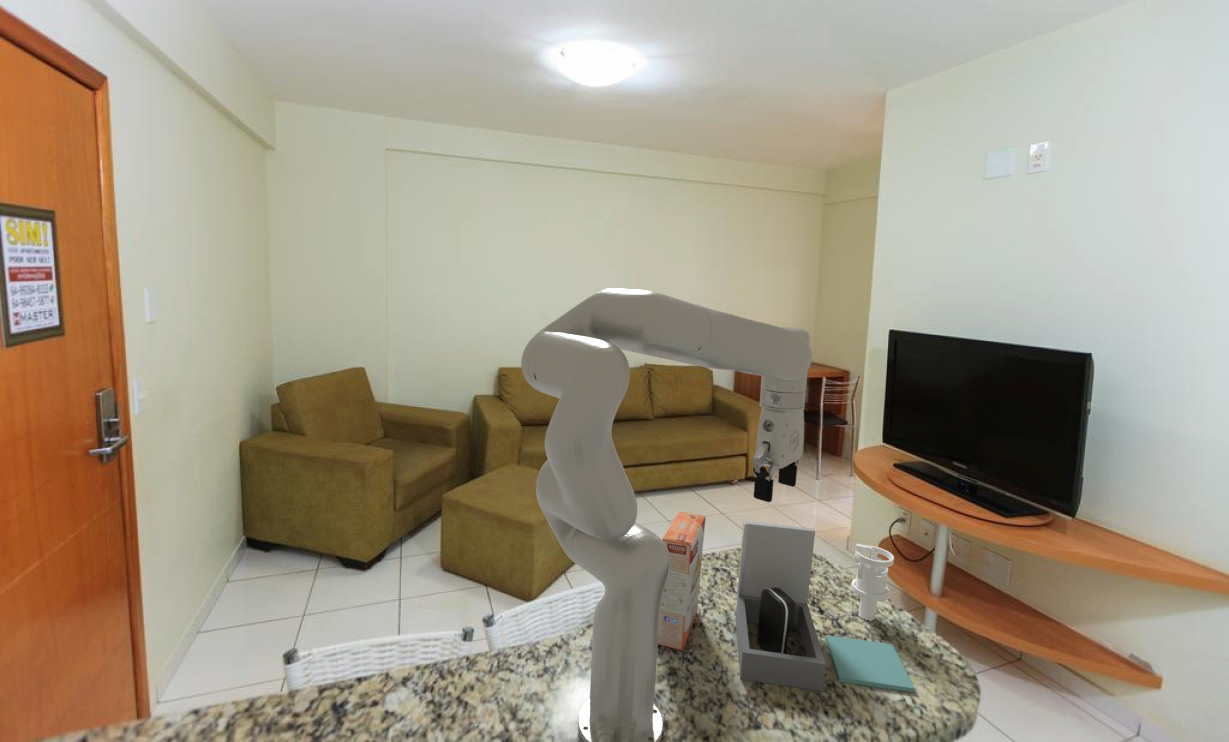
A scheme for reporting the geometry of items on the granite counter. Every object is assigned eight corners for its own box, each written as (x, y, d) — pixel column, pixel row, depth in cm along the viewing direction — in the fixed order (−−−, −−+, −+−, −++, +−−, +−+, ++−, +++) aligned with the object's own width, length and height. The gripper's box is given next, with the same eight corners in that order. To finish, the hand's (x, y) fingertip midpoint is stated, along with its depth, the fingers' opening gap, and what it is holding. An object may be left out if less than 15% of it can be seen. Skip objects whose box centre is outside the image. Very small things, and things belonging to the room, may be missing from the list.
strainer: (849, 603, 123) (857, 537, 120) (885, 613, 119) (894, 545, 117) (846, 620, 116) (855, 550, 114) (885, 630, 113) (894, 559, 111)
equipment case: (822, 691, 95) (835, 579, 92) (740, 679, 97) (750, 569, 94) (803, 623, 114) (814, 528, 111) (735, 614, 117) (743, 520, 113)
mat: (914, 692, 96) (914, 688, 96) (839, 681, 98) (839, 677, 98) (892, 648, 108) (892, 644, 108) (825, 639, 110) (825, 635, 110)
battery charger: (795, 661, 103) (801, 602, 101) (777, 665, 101) (783, 605, 100) (772, 638, 109) (777, 582, 107) (755, 641, 108) (760, 585, 106)
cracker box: (685, 653, 104) (693, 544, 100) (653, 645, 105) (659, 537, 102) (699, 612, 117) (707, 514, 113) (670, 605, 119) (677, 509, 115)
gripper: (781, 411, 91) (773, 512, 94) (822, 394, 104) (814, 484, 107) (738, 403, 96) (732, 500, 99) (783, 388, 109) (776, 474, 112)
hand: (775, 491), depth 103 cm, fingers open, 9 cm apart
